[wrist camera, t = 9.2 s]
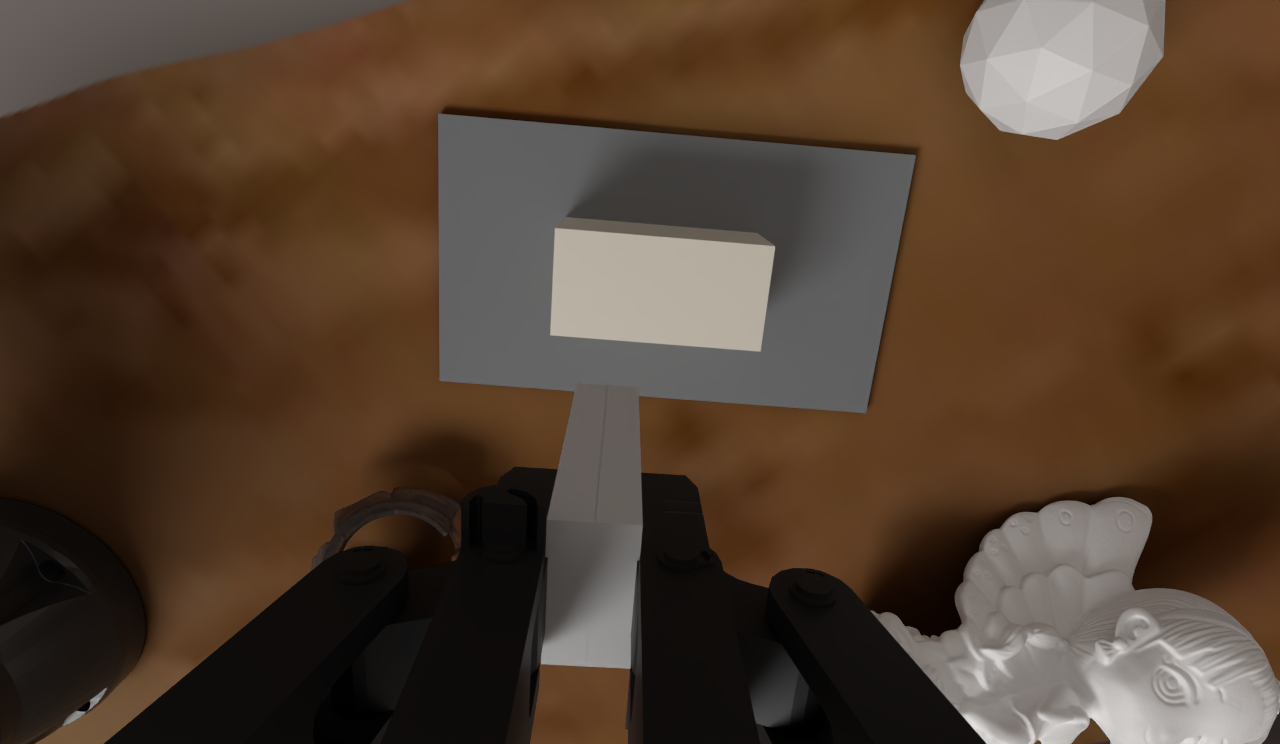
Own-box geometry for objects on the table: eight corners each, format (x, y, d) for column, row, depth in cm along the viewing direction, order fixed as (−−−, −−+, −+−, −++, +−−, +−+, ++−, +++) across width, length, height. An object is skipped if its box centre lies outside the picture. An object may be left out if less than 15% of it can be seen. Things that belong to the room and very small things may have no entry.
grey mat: (441, 378, 40) (439, 381, 39) (440, 113, 35) (438, 113, 35) (863, 410, 40) (866, 413, 40) (913, 155, 36) (916, 155, 36)
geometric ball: (952, 88, 38) (904, 99, 32) (1052, -79, 33) (1018, -103, 27) (1086, 159, 35) (1061, 184, 29) (1217, -11, 30) (1218, -21, 25)
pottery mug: (299, 544, 43) (262, 555, 36) (432, 455, 46) (427, 447, 38) (409, 704, 43) (398, 751, 36) (537, 606, 46) (552, 630, 38)
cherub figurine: (866, 661, 33) (1350, 606, 30) (827, 526, 45) (1171, 475, 42) (901, 868, 37) (1336, 840, 33) (856, 693, 49) (1175, 658, 45)
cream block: (550, 335, 33) (761, 351, 34) (554, 228, 32) (777, 246, 32) (560, 311, 38) (746, 325, 38) (565, 217, 36) (758, 232, 37)
